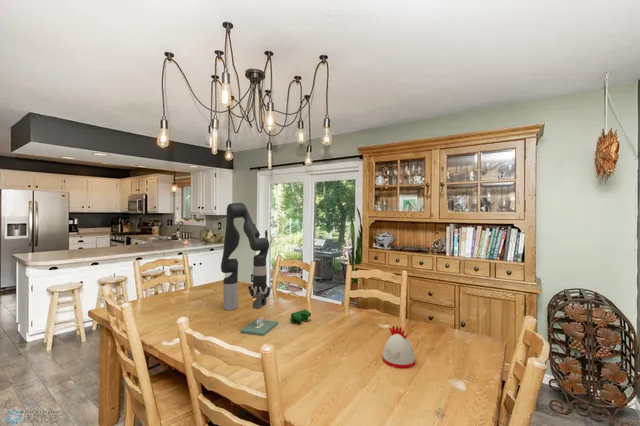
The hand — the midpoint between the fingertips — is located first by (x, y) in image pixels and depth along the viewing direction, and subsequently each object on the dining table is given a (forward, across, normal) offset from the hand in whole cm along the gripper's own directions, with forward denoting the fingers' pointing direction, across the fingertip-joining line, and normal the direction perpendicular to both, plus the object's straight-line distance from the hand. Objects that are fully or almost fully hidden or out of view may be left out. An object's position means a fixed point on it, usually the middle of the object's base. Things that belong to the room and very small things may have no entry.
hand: (259, 304), depth 173 cm
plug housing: (+1, 0, +2) cm, 2 cm away
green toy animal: (+14, -18, -16) cm, 28 cm away
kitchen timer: (+14, -76, +15) cm, 79 cm away
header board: (+14, 0, 0) cm, 14 cm away
